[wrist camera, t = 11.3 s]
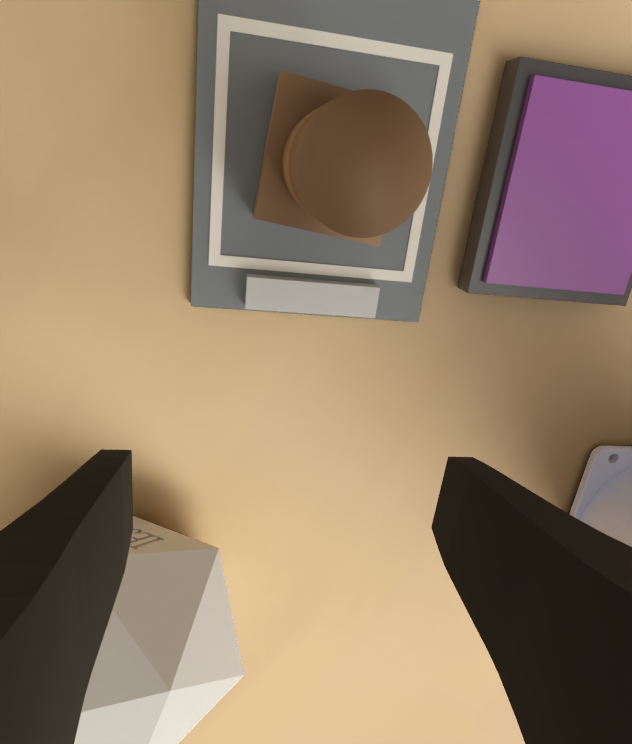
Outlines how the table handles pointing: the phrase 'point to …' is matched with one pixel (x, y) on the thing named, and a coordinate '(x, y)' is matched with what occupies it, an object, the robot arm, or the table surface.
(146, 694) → the die
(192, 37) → the table surface
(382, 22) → the grey framed plate
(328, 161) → the stamp
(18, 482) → the table surface
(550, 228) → the ink pad
